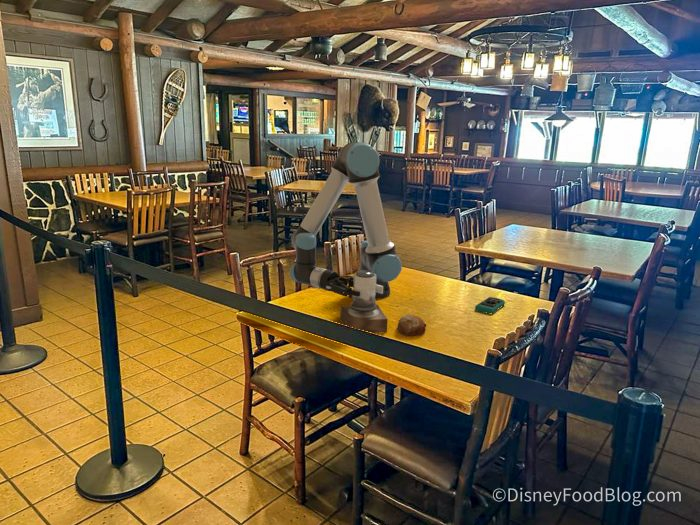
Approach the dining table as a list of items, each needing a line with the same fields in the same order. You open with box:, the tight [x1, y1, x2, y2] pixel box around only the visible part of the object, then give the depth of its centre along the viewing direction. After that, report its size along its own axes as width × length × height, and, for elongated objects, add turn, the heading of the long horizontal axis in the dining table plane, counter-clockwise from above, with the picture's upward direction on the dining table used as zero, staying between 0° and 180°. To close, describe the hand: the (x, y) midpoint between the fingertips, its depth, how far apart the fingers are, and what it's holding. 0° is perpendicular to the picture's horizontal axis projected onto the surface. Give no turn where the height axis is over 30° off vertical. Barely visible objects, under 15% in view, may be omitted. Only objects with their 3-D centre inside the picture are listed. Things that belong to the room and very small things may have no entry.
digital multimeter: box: [474, 296, 506, 314], centre depth 202 cm, size 7×15×3 cm, turn 143°
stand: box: [339, 304, 388, 334], centre depth 179 cm, size 14×14×5 cm
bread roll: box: [396, 313, 427, 338], centre depth 176 cm, size 10×10×8 cm
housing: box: [350, 269, 378, 312], centre depth 176 cm, size 9×9×13 cm
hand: (375, 292), depth 174 cm, fingers closed on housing, 8 cm apart
